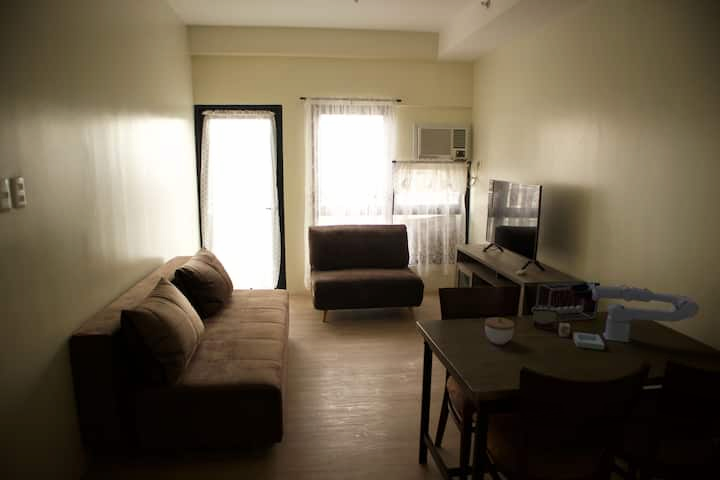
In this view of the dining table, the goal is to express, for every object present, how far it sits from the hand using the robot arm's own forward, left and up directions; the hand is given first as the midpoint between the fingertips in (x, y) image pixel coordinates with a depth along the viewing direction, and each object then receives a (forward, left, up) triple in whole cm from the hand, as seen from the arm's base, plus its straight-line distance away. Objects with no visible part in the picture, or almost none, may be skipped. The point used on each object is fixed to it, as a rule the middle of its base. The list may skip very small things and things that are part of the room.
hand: (572, 291), depth 224 cm
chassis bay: (-7, +11, -21) cm, 24 cm away
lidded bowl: (+32, +21, -21) cm, 44 cm away
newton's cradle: (-2, -23, -21) cm, 31 cm away
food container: (+11, -6, -21) cm, 25 cm away
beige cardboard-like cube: (+2, +3, -21) cm, 21 cm away
